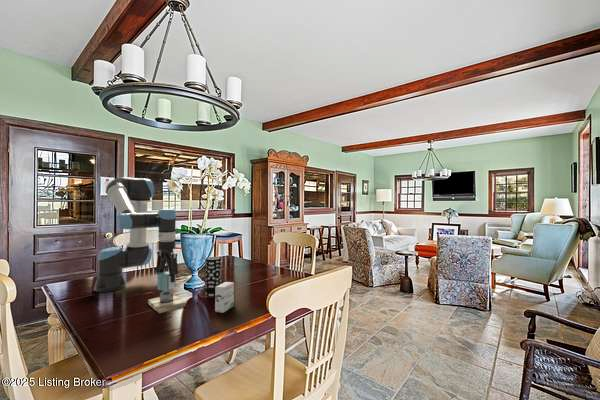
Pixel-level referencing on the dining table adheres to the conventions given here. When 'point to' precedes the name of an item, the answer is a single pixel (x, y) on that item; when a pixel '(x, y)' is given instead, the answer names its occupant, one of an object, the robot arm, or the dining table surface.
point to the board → (166, 304)
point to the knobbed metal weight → (166, 296)
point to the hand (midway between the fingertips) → (166, 287)
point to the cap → (164, 281)
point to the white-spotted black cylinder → (212, 275)
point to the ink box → (224, 297)
